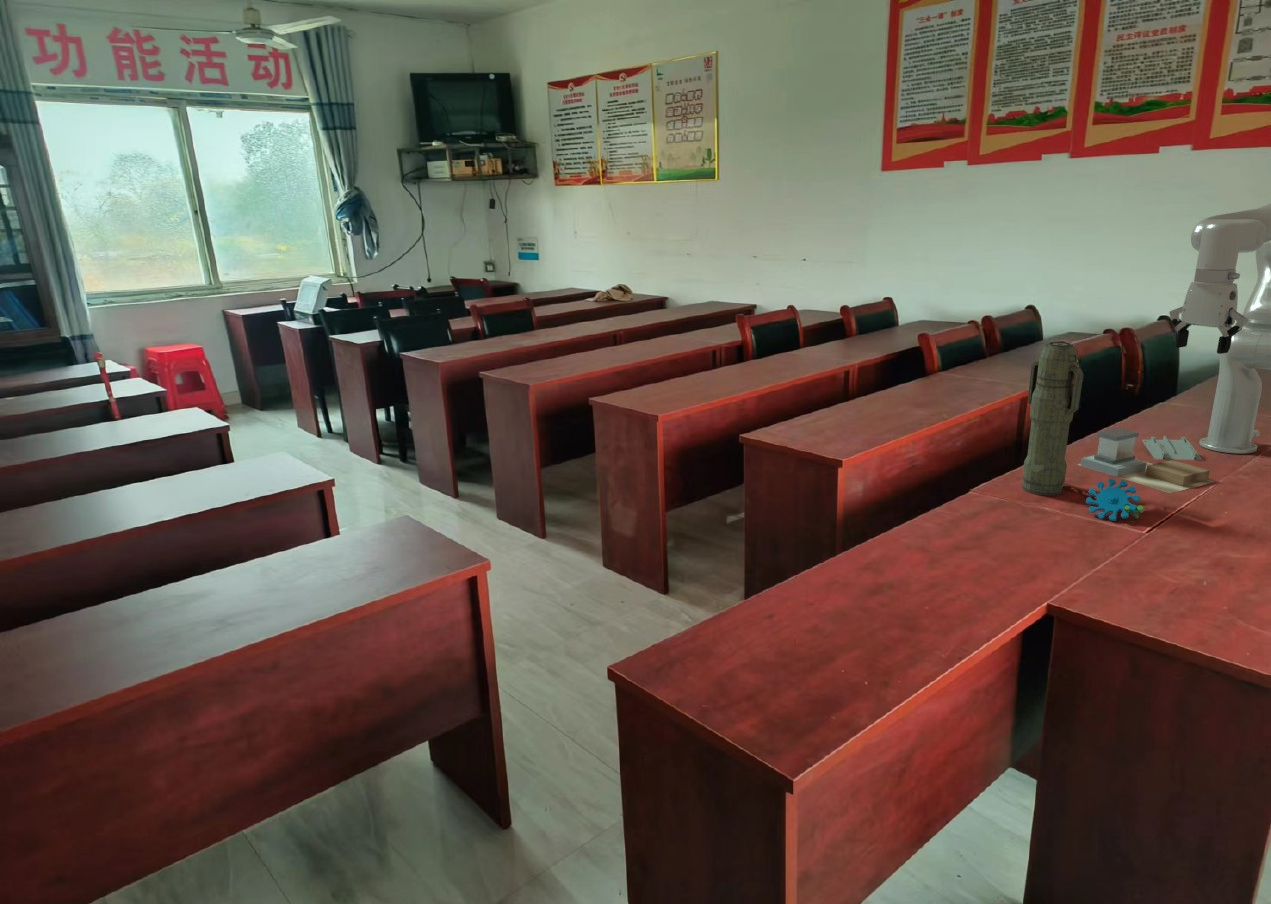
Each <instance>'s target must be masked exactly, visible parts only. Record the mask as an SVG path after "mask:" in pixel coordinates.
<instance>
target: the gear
mask: <svg viewBox="0 0 1271 904" xmlns="http://www.w3.org/2000/svg"><path fill="white" fill-rule="evenodd" d="M1116 483H1117V481H1116V479H1113V478H1109V479H1108V486H1107V487H1106V488H1104V487H1105V483H1104V481H1099V482H1097V483H1096V486H1097V488H1098V489H1099V491H1100V492H1099V493H1097V492H1096V489H1095V488H1093V487H1092V488H1090V489H1089V490H1088V491H1087V492H1088V494H1089V495H1090V496H1093V497H1095V498H1096V500H1095V499H1092V497H1090V496H1089V497H1087V498H1086V500H1085V503H1086V504H1087V505H1090V506H1089V507H1088V509H1089V511H1090V513H1091V514H1095V513H1096V512H1098V511H1103V512H1098V513H1097V518H1099V519H1100V520H1104V519H1105V517H1106V516H1107V515H1108V514H1110V515H1109V516H1108V520H1109V521H1111V522H1116V521H1117V515H1118V513H1119V512H1121V511H1122V512H1121V513H1120V516H1121V518H1122V519H1128V518H1129V517H1130V516H1129V515H1131V516H1133V517H1134V519H1135V520H1137V519H1139V514H1140V513H1143V512H1144V511H1145V510H1144V506H1143V505H1136V504H1133V503H1134V502H1135V503H1139V502H1140V499H1141V497H1140V495H1137V494H1136V493H1137V489H1136V487H1135V486H1133V485H1132V486H1129V487H1128V485H1129V484H1128V482H1127V480H1125V479H1122V480H1121V481H1120V482H1119V484H1118V485H1117V486H1115V485H1116ZM1113 486H1115V487H1113ZM1126 487H1128V488H1126ZM1122 488H1123V489H1122ZM1127 493H1131V494H1136V495H1129V494H1127ZM1129 500H1132V501H1133V503H1131V502H1129ZM1092 505H1097V507H1096V506H1092ZM1111 513H1112V514H1111Z"/></svg>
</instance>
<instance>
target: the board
mask: <svg viewBox="0 0 1271 904" xmlns="http://www.w3.org/2000/svg"><path fill="white" fill-rule="evenodd" d="M1135 459H1136V460H1139V461H1143V462H1146V463H1147V464H1146V469H1147V466H1148V465H1152V464H1153V463H1150V462H1147V461H1144V460H1140V459H1137V458H1135ZM1077 466H1081V463H1077ZM1081 467H1084V466H1081ZM1092 470H1093V471H1097V470H1094V469H1092ZM1097 472H1100V471H1097ZM1100 473H1101V472H1100ZM1105 474H1106V475H1110V474H1107V473H1105ZM1145 475H1146V470H1145V471H1140V472H1136V473H1132V474H1127V475H1123V476H1119V477H1118V478H1119V479H1122V480H1124V481H1129V482H1132V483H1135V484H1139V485H1142V486H1145V487H1148V488H1150V489H1151V488H1152V489H1155V490H1158V491H1161V492H1164V493H1167V494H1174V493H1177V492H1181V491H1185V490H1189V489H1193V488H1198V487H1201V486H1205V485H1208V484H1209V485H1210V484H1214V483H1216V481H1214V480H1210V479H1208V480H1207V481H1203V482H1199V483H1195V484H1191V485H1187V486H1183V487H1182V486H1179V485H1175V484H1172V483H1169V482H1165V481H1162V480H1159V479H1155V478H1152V477H1149V476H1145ZM1110 476H1113V475H1110ZM1113 477H1116V476H1113ZM1116 478H1117V477H1116Z"/></svg>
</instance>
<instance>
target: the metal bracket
mask: <svg viewBox="0 0 1271 904" xmlns="http://www.w3.org/2000/svg"><path fill="white" fill-rule="evenodd" d="M1141 441H1142V442H1143V444H1144V446H1145V447H1146V449H1147V450H1148V452H1149V453H1150V454H1151V456H1152V458H1153V459H1154V460H1165V461H1170V460H1174V461H1190V460H1192V461H1197V460H1203V458H1202V457H1201V456H1200V455H1199V453H1198V452H1197V451H1196V449H1195V448H1194V447H1193V445H1192V444H1191V443H1190V441H1189V440H1188V439H1187V438H1186V436H1181V438H1180V439H1168V437H1167V436H1166V435H1163V438H1162V439H1157V438H1156V437H1155V436H1151V437H1150V439H1142V440H1141Z"/></svg>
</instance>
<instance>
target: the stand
mask: <svg viewBox="0 0 1271 904" xmlns="http://www.w3.org/2000/svg"><path fill="white" fill-rule="evenodd" d="M1151 464H1152V465H1148V466H1147V469H1146V475H1145V476H1149V477H1152V478H1155V479H1159V480H1162V481H1165V482H1169V483H1172V484H1175V485H1179V486H1182V487H1183V486H1187V485H1191V484H1195V483H1199V482H1203V481H1207V480H1209V475H1210V471H1211V470H1209V469H1206V468H1202V467H1198V466H1195V465H1192V464H1187V463H1184V462H1181V461H1178V460H1165V461H1161V462H1158V463H1151Z"/></svg>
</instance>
